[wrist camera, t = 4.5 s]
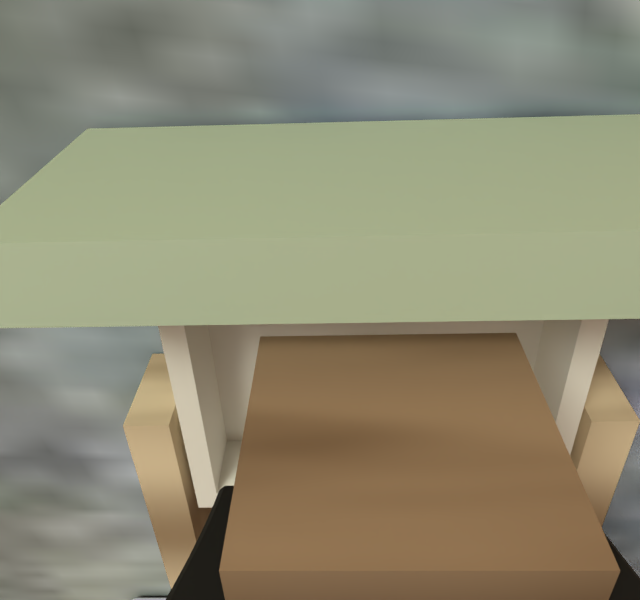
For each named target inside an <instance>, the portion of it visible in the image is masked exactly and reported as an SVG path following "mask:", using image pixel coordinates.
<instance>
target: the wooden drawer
mask: <svg viewBox="0 0 640 600" xmlns="http://www.w3.org/2000/svg"><path fill="white" fill-rule="evenodd" d="M609 319H640V114H633V115H595V116H557V117H518V118H480V119H442V120H403V121H365V122H327V123H289V124H250V125H212V126H174V127H135V128H97V129H87V130H85V131H84V132H83V133H82V134H81V135H80V136H79V137H77V138H76V139H75V140H74V141H73V142H72V143H71V144H69V145H68V146H67V147H66V148H65V149H64V150H63V151H61V152H60V153H59V154H58V155H57V156H56V157H55V158H54V159H52V160H51V161H50V162H49V163H48V164H47V165H46V166H44V167H43V168H42V169H41V170H40V171H39V172H38V173H36V174H35V175H34V176H33V177H32V178H31V179H30V180H28V181H27V182H26V183H25V184H24V185H23V186H22V187H20V188H19V189H18V190H17V191H16V192H15V193H14V194H12V195H11V196H10V197H9V198H8V199H7V200H6V201H4V202H3V203H2V204H1V205H0V328H43V327H111V326H158V328H159V332H160V337H161V341H162V346H163V350H164V355H165V359H166V364H167V368H168V373H169V377H170V382H171V386H172V391H173V395H174V400H175V404H176V409H177V413H178V418H179V422H180V427H181V431H182V436H183V440H184V444H185V449H186V453H187V458H188V462H189V467H190V471H191V476H192V480H193V485H194V489H195V494H196V498H197V503H198V507H199V508H212V507H213V505H214V502H215V500H216V497H217V495H218V492H219V490H220V489H221V488H222V487H224V486H234V483H235V477H236V472H237V466H238V460H239V454H240V449H241V443H242V437H243V432H244V426H245V420H246V415H247V409H248V403H249V398H250V392H251V386H252V381H253V375H254V369H255V363H256V358H257V352H258V346H259V341H260V336H326V335H397V334H468V333H516V334H517V336H518V338H519V341H520V343H521V345H522V347H523V350H524V352H525V354H526V357H527V359H528V361H529V363H530V366H531V368H532V370H533V372H534V375H535V377H536V379H537V382H538V384H539V386H540V388H541V391H542V393H543V395H544V398H545V400H546V402H547V404H548V407H549V409H550V411H551V414H552V416H553V418H554V420H555V423H556V425H557V427H558V429H559V432H560V434H561V436H562V439H563V441H564V443H565V445H566V448H567V450H568V452H569V455H570V454H571V451H572V447H573V444H574V440H575V437H576V433H577V430H578V426H579V423H580V419H581V416H582V412H583V409H584V405H585V402H586V398H587V395H588V391H589V388H590V384H591V381H592V377H593V374H594V371H595V367H596V364H597V360H598V357H599V353H600V350H601V346H602V343H603V339H604V336H605V332H606V329H607V325H608V322H609Z"/></svg>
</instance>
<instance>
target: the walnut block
mask: <svg viewBox="0 0 640 600" xmlns="http://www.w3.org/2000/svg"><path fill="white" fill-rule="evenodd" d="M219 573H220V578H221V583H222V588H223V592H224V597H225V600H609V598H610V595H611V593H612V590H613V588H614V585H615V583H616V581H617V578H618V576H619V573H620V568H619V566H618V564H617V562H616V559H615V557H614V555H613V552H612V550H611V548H610V546H609V543H608V541H607V539H606V537H605V534H604V532H603V530H602V527H601V525H600V523H599V521H598V518H597V516H596V514H595V511H594V509H593V507H592V505H591V502H590V500H589V498H588V496H587V493H586V491H585V489H584V486H583V484H582V482H581V480H580V477H579V475H578V473H577V470H576V468H575V466H574V464H573V461H572V459H571V457H570V455H569V452H568V450H567V448H566V445H565V443H564V441H563V439H562V436H561V434H560V432H559V429H558V427H557V425H556V423H555V420H554V418H553V416H552V414H551V411H550V409H549V407H548V404H547V402H546V400H545V398H544V395H543V393H542V391H541V388H540V386H539V384H538V382H537V379H536V377H535V375H534V372H533V370H532V368H531V366H530V363H529V361H528V359H527V357H526V354H525V352H524V350H523V347H522V345H521V343H520V341H519V338H518V336H517V334H516V333H468V334H397V335H326V336H260V341H259V346H258V352H257V358H256V363H255V369H254V375H253V381H252V386H251V392H250V398H249V403H248V409H247V415H246V420H245V426H244V432H243V437H242V443H241V449H240V454H239V460H238V466H237V472H236V477H235V483H234V489H233V494H232V500H231V506H230V511H229V517H228V523H227V528H226V534H225V540H224V546H223V551H222V557H221V563H220V568H219Z"/></svg>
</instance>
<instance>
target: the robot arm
mask: <svg viewBox="0 0 640 600" xmlns="http://www.w3.org/2000/svg"><path fill="white" fill-rule="evenodd" d="M233 489H234V486H224V487H222V488H221V489H220V490H219V492H218V495H217V497H216V500H215V502H214V505H213V507H212V509H211V512H210V514H209V516H208V518H207V521H206V523H205V525H204V527H203V529H202V531H201V534H200V536H199V538H198V540H197V542H196V544H195V546H194V548H193V550H192V552H191V554H190V556H189V558H188V560H187V561H186V563H185V565H184V567H183V569H182V571H181V573H180V574H179V576H178V578H177V580H176V582H175V584H174V585H173V587H172V589H171V591H170V593H169V595H168V596H167V598H134V599H132V600H225V597H224V592H223V588H222V583H221V578H220V573H219V568H220V563H221V557H222V551H223V546H224V540H225V534H226V528H227V523H228V517H229V511H230V506H231V500H232V494H233ZM604 534H605V533H604ZM605 537H606V539H607V541H608V543H609V546H610V548H611V550H612V552H613V555H614V557H615V559H616V562H617V564H618V566H619V568H620V573H619V576H618V578H617V581H616V583H615V585H614V588H613V590H612V593H611V595H610V598H609V600H640V578H639V576H638V575H637V574H636V573H635V572H634V570H633V569H632V568H631V567H630V565H629V564H628V563H627V562H626V560H625V559H624V558H623V557H622V555H621V554H620V553H619V551H618V550H617V549H616V547H615V546H614V545H613V544H612V542H611V541H610V540H609V538H608V537H607V536H606V535H605Z"/></svg>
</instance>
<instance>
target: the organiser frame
mask: <svg viewBox="0 0 640 600" xmlns="http://www.w3.org/2000/svg"><path fill="white" fill-rule="evenodd" d="M639 423H640V420H639V418H638V417H637V415H636V413H635V412H634V410H633V408H632V407H631V405H630V404H629V402H628V400H627V399H626V397H625V395H624V394H623V392H622V390H621V389H620V387H619V385H618V384H617V382H616V380H615V379H614V377H613V375H612V374H611V372H610V370H609V369H608V367H607V365H606V364H605V362H604V360H603V359H602V357H601V355H600V354H599V357H598V360H597V364H596V367H595V371H594V374H593V377H592V381H591V384H590V388H589V391H588V395H587V398H586V402H585V405H584V409H583V412H582V416H581V419H580V423H579V426H578V430H577V433H576V437H575V440H574V444H573V447H572V451H571V454H570V457H571V459H572V461H573V464H574V466H575V468H576V470H577V473H578V475H579V477H580V480H581V482H582V484H583V486H584V489H585V491H586V493H587V496H588V498H589V500H590V502H591V505H592V507H593V509H594V511H595V514H596V516H597V518H598V521H599V523H600V525H601V527H602V525H603V522H604V519H605V516H606V514H607V511H608V508H609V505H610V503H611V500H612V497H613V494H614V492H615V489H616V486H617V483H618V481H619V478H620V475H621V472H622V470H623V467H624V464H625V461H626V459H627V456H628V453H629V450H630V448H631V445H632V442H633V439H634V437H635V434H636V431H637V428H638V426H639ZM123 428H124V431H125V434H126V438H127V441H128V445H129V448H130V451H131V455H132V458H133V461H134V465H135V468H136V472H137V475H138V478H139V482H140V485H141V488H142V492H143V495H144V499H145V502H146V505H147V509H148V512H149V515H150V519H151V522H152V525H153V529H154V532H155V536H156V539H157V542H158V546H159V549H160V552H161V556H162V559H163V563H164V566H165V569H166V573H167V576H168V579H169V583H170V586H171V589H172V587H173V585H174V584H175V582H176V580H177V578H178V576H179V574H180V573H181V571H182V569H183V567H184V565H185V563H186V561H187V560H188V558H189V556H190V554H191V552H192V550H193V548H194V546H195V544H196V542H197V540H198V538H199V536H200V534H201V531H202V529H203V527H204V525H205V523H206V521H207V518H208V516H209V514H210V512H211V509H212V508H199V507H198V503H197V498H196V494H195V489H194V485H193V480H192V476H191V471H190V467H189V462H188V458H187V453H186V449H185V444H184V440H183V436H182V431H181V427H180V422H179V418H178V413H177V409H176V404H175V400H174V395H173V391H172V386H171V382H170V377H169V373H168V368H167V364H166V359H165V355H164V354H152V356H151V359H150V361H149V364H148V366H147V368H146V371H145V373H144V376H143V378H142V381H141V383H140V386H139V388H138V390H137V393H136V395H135V398H134V400H133V403H132V405H131V407H130V410H129V412H128V415H127V417H126V420H125V422H124V424H123Z"/></svg>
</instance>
